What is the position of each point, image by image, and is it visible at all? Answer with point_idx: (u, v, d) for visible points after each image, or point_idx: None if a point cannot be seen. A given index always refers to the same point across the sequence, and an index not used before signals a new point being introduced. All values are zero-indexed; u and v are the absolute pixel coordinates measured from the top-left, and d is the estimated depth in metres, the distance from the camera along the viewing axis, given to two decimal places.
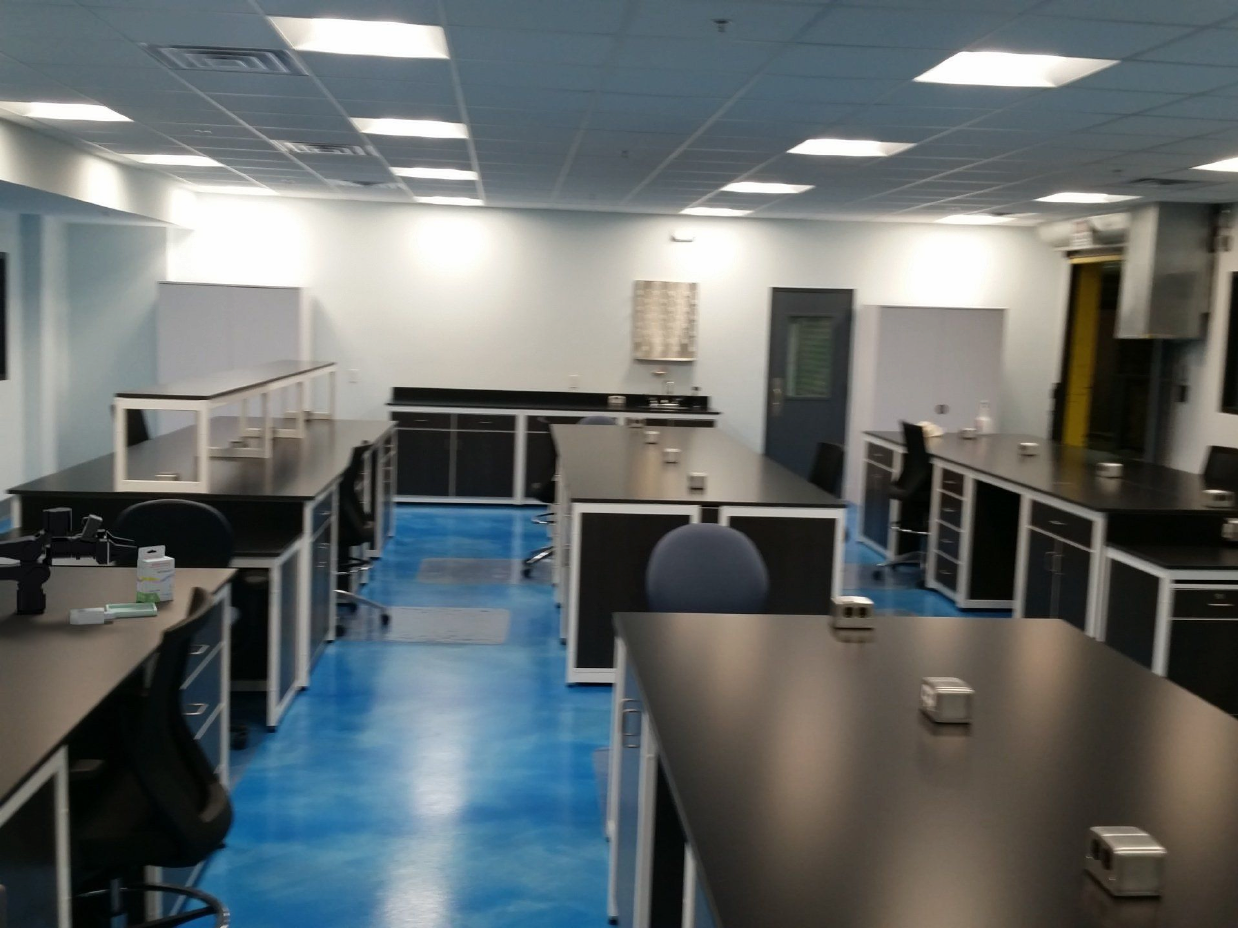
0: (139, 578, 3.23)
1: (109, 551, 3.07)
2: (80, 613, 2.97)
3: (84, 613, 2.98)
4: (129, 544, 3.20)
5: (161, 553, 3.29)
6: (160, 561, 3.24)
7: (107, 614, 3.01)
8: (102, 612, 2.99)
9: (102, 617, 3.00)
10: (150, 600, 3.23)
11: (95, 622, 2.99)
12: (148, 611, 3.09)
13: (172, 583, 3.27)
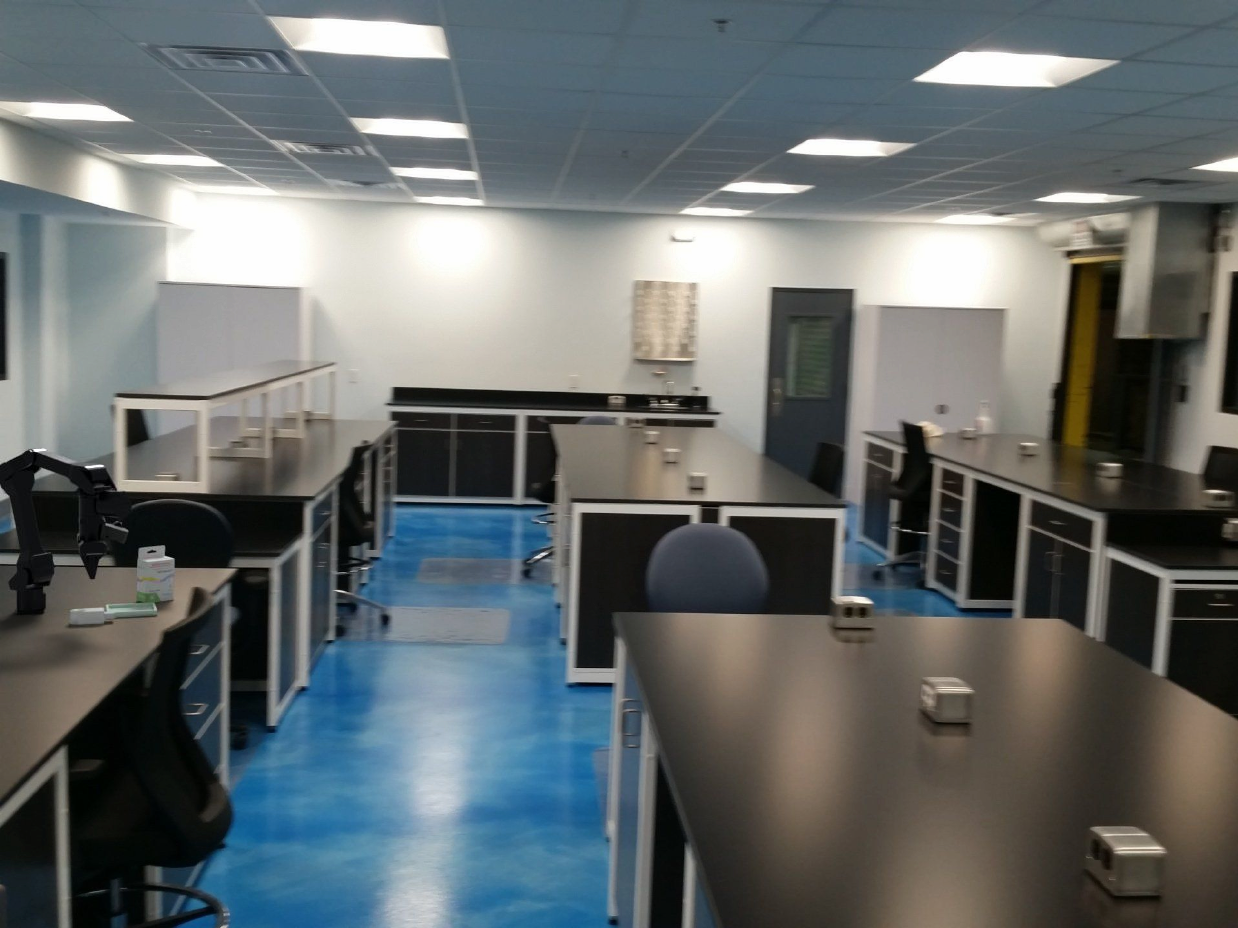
0: (139, 578, 3.23)
1: (93, 554, 2.91)
2: (80, 613, 2.97)
3: (84, 613, 2.98)
4: None
5: (161, 553, 3.29)
6: (160, 561, 3.24)
7: (107, 614, 3.01)
8: (102, 612, 2.99)
9: (102, 617, 3.00)
10: (150, 600, 3.23)
11: (95, 622, 2.99)
12: (148, 611, 3.09)
13: (172, 583, 3.27)
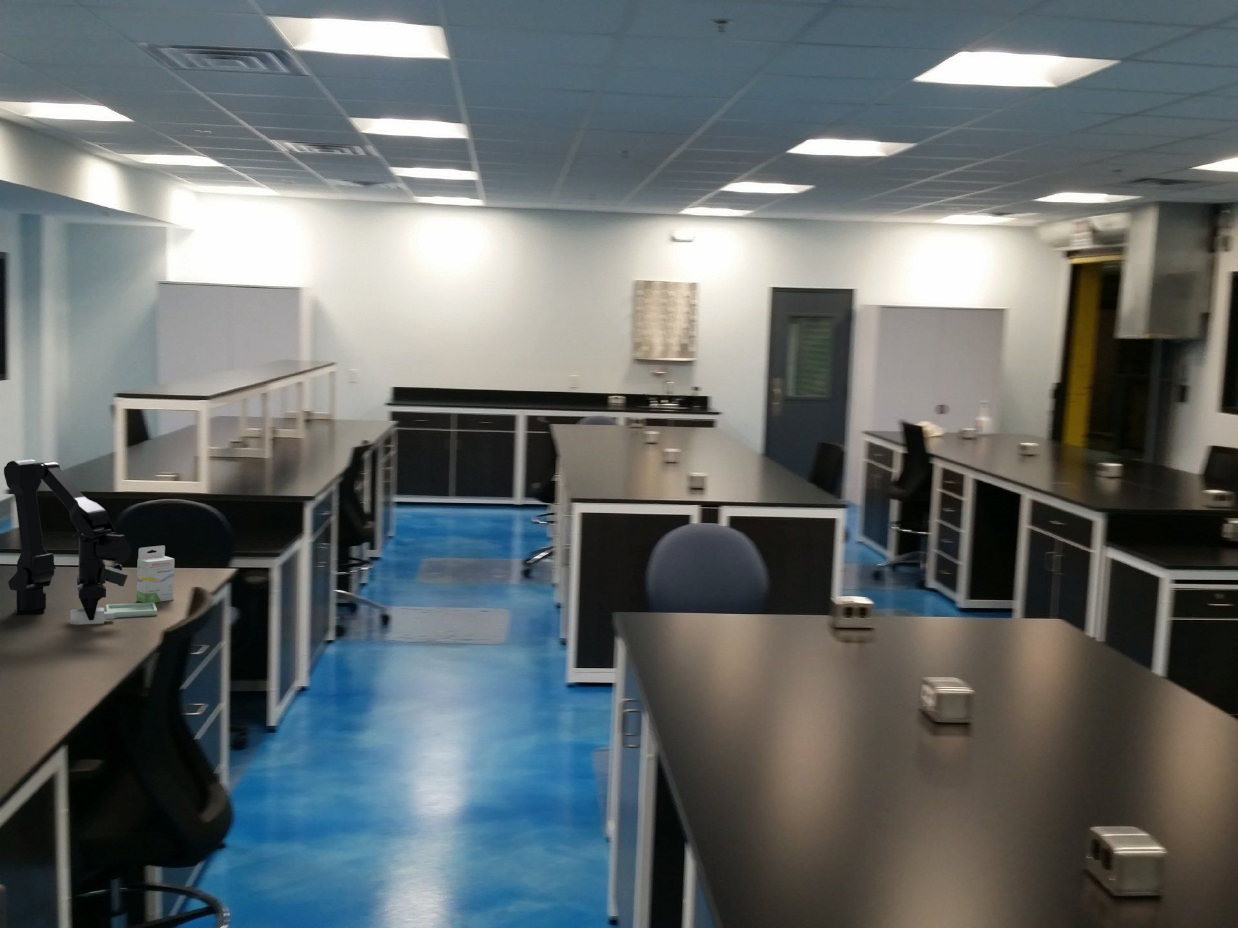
0: (139, 578, 3.23)
1: None
2: (80, 613, 2.97)
3: (84, 613, 2.98)
4: None
5: (161, 553, 3.29)
6: (160, 561, 3.24)
7: (107, 614, 3.01)
8: (102, 612, 2.99)
9: (102, 617, 3.00)
10: (150, 600, 3.23)
11: (95, 622, 2.99)
12: (148, 611, 3.09)
13: (172, 583, 3.27)
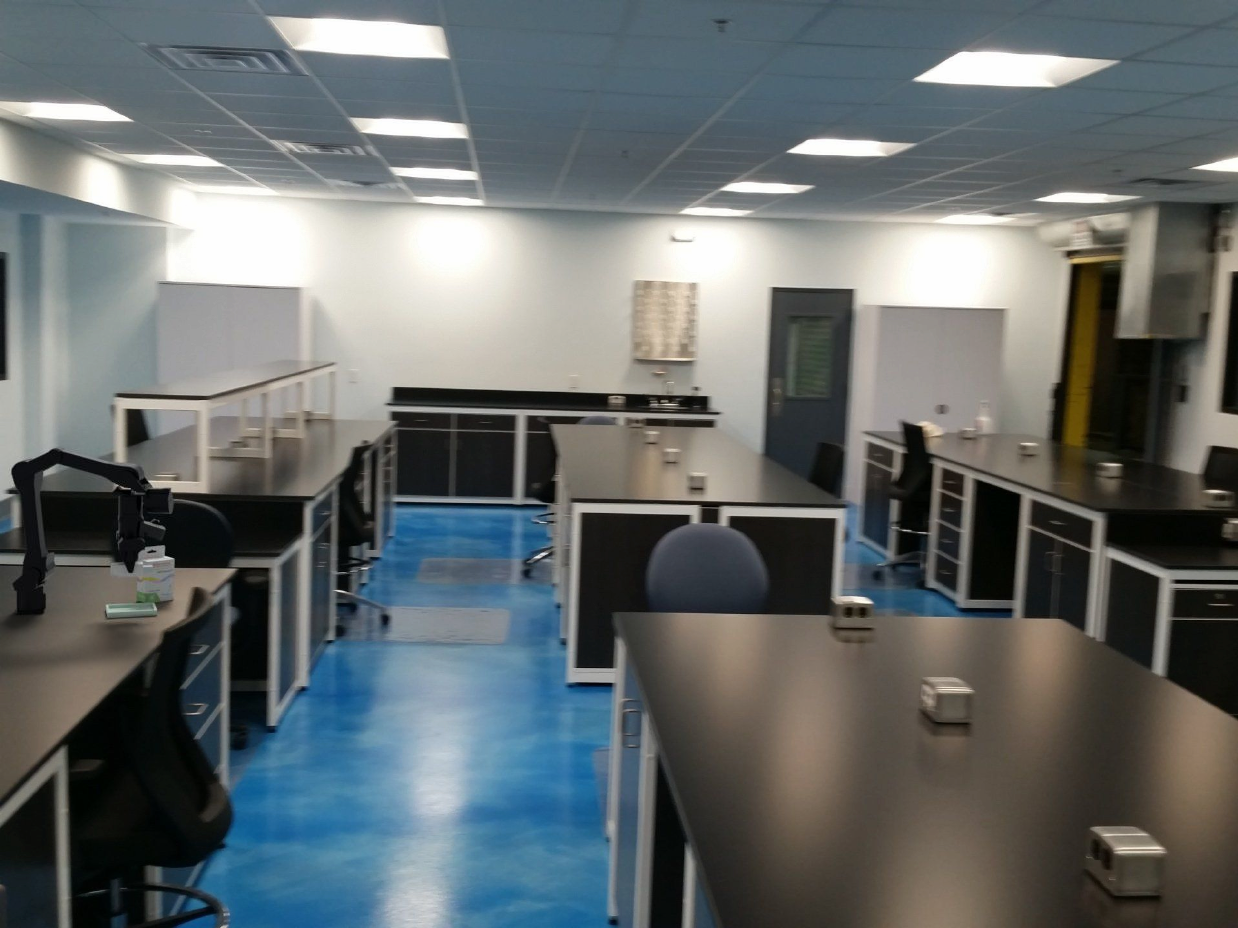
0: (139, 578, 3.23)
1: None
2: (120, 566, 3.07)
3: (124, 566, 3.07)
4: None
5: (161, 553, 3.29)
6: (160, 561, 3.24)
7: (146, 567, 3.10)
8: (141, 565, 3.09)
9: (141, 570, 3.09)
10: (150, 600, 3.23)
11: (135, 575, 3.09)
12: (148, 611, 3.09)
13: (172, 583, 3.27)
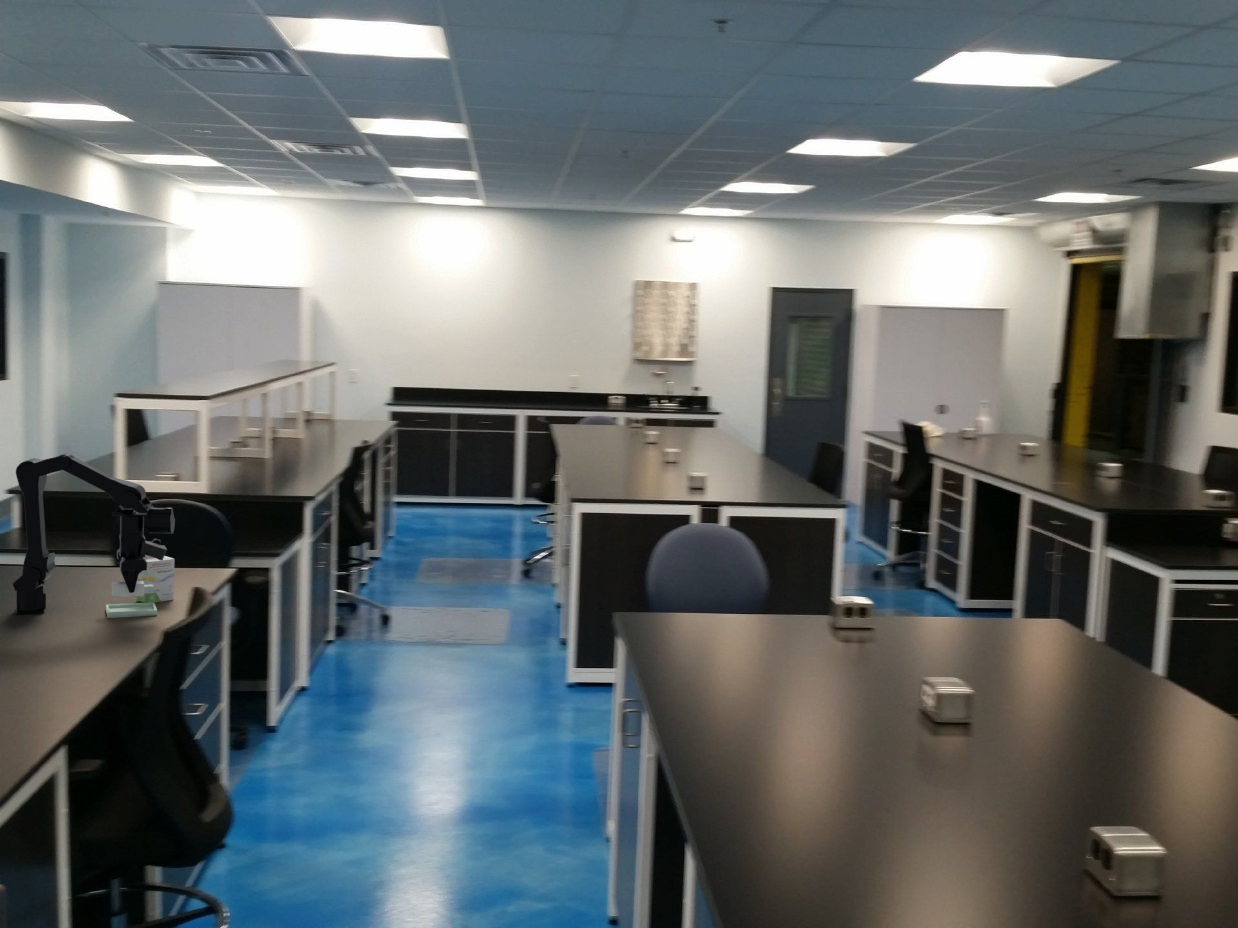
0: (139, 578, 3.23)
1: None
2: (121, 586, 3.08)
3: (125, 586, 3.09)
4: None
5: None
6: (160, 561, 3.24)
7: (147, 587, 3.12)
8: (142, 585, 3.10)
9: (142, 590, 3.10)
10: (150, 600, 3.23)
11: (136, 594, 3.10)
12: (148, 611, 3.09)
13: (172, 583, 3.27)
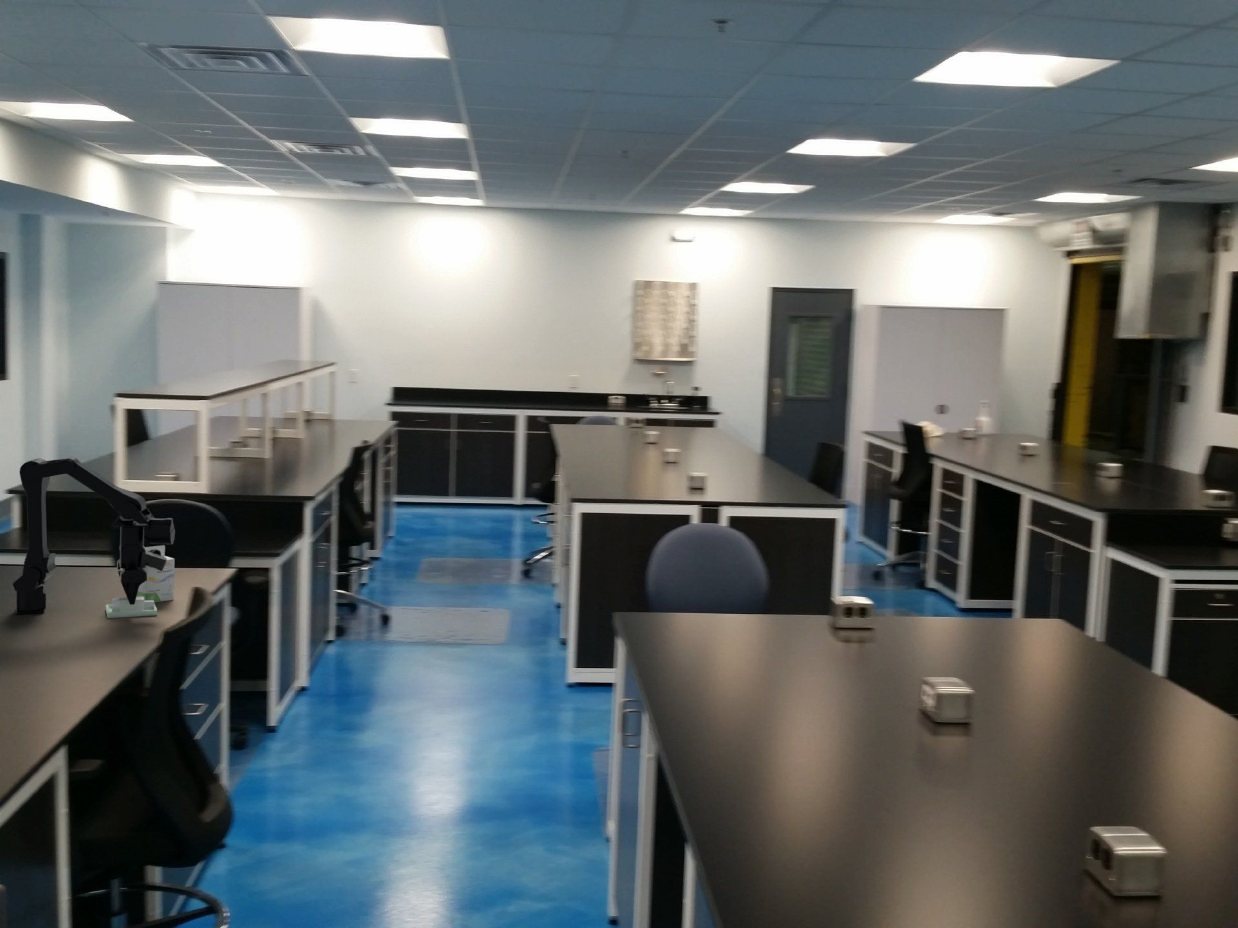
0: None
1: None
2: (121, 602, 3.09)
3: (125, 602, 3.09)
4: None
5: (161, 553, 3.29)
6: None
7: (147, 603, 3.12)
8: (142, 601, 3.11)
9: (142, 605, 3.11)
10: None
11: (136, 610, 3.10)
12: (148, 611, 3.09)
13: (172, 583, 3.27)
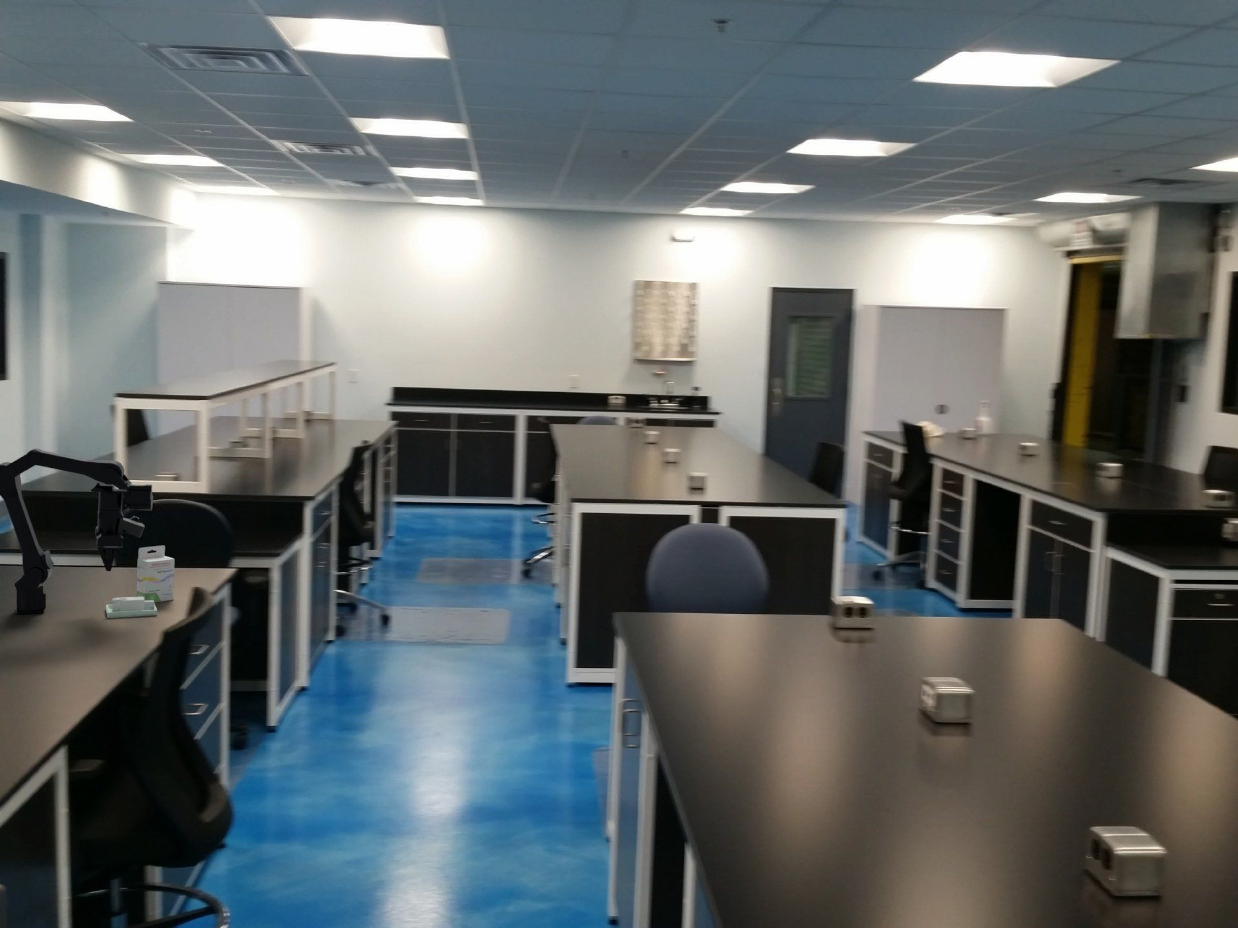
0: (139, 578, 3.23)
1: (110, 547, 3.04)
2: (121, 602, 3.09)
3: (125, 602, 3.09)
4: None
5: (161, 553, 3.29)
6: (160, 561, 3.24)
7: (147, 603, 3.12)
8: (142, 601, 3.11)
9: (142, 605, 3.11)
10: None
11: (136, 610, 3.10)
12: (148, 611, 3.09)
13: (172, 583, 3.27)
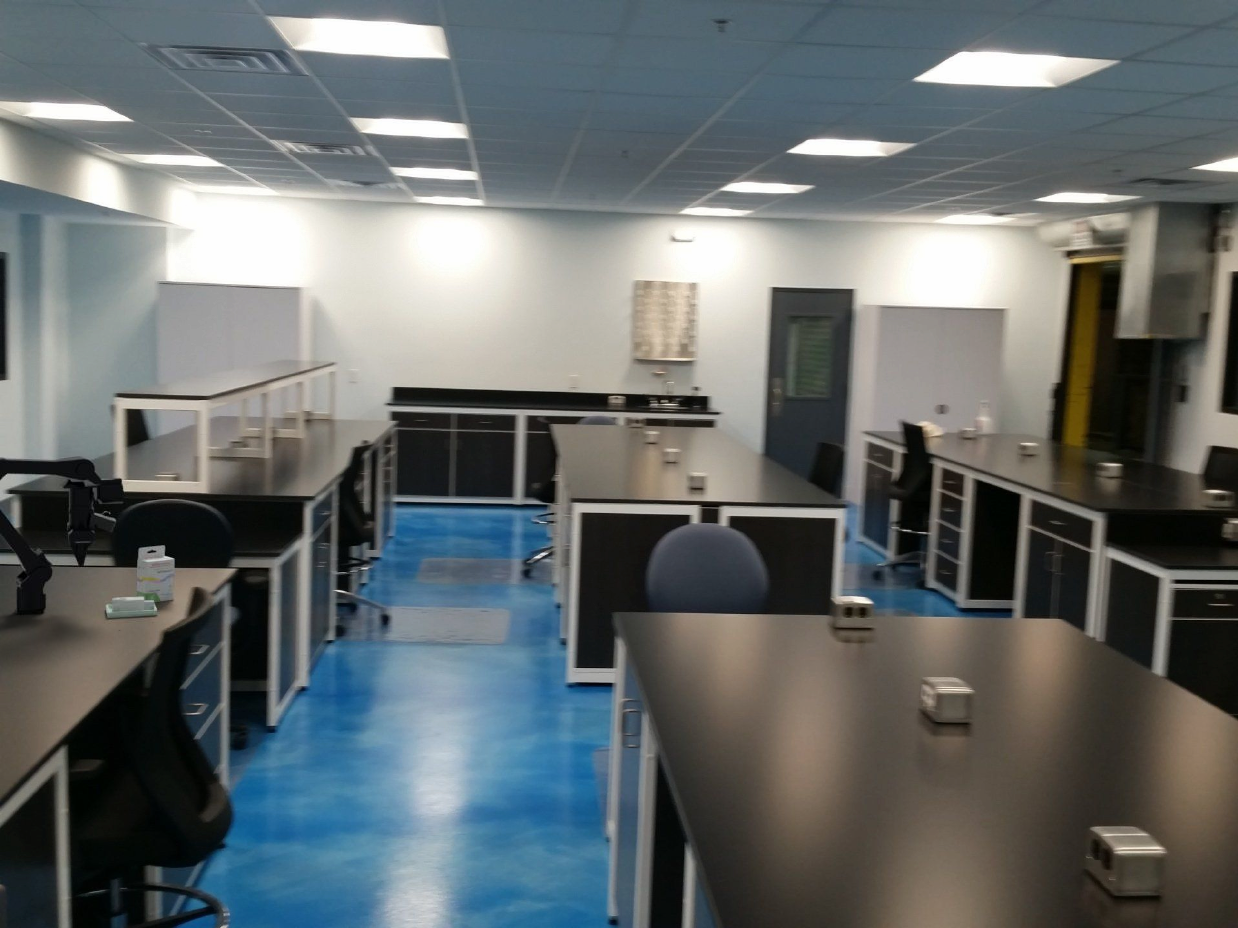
0: (139, 578, 3.23)
1: (82, 542, 3.05)
2: (121, 602, 3.09)
3: (125, 602, 3.09)
4: None
5: (161, 553, 3.29)
6: (160, 561, 3.24)
7: (147, 603, 3.12)
8: (142, 601, 3.11)
9: (142, 605, 3.11)
10: None
11: (136, 610, 3.10)
12: (148, 611, 3.09)
13: (172, 583, 3.27)
